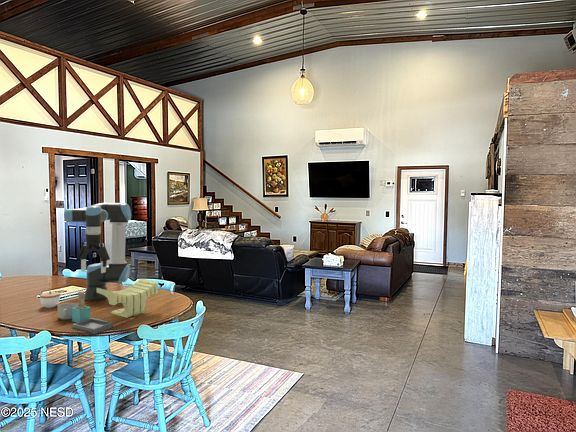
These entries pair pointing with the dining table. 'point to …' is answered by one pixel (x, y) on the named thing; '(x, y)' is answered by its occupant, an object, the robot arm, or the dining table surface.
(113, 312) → the slatted curved stool
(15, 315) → the dining table surface
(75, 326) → the tray
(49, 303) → the lidded jar
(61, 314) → the teacup
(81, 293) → the dowel
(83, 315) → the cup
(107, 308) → the dining table surface
